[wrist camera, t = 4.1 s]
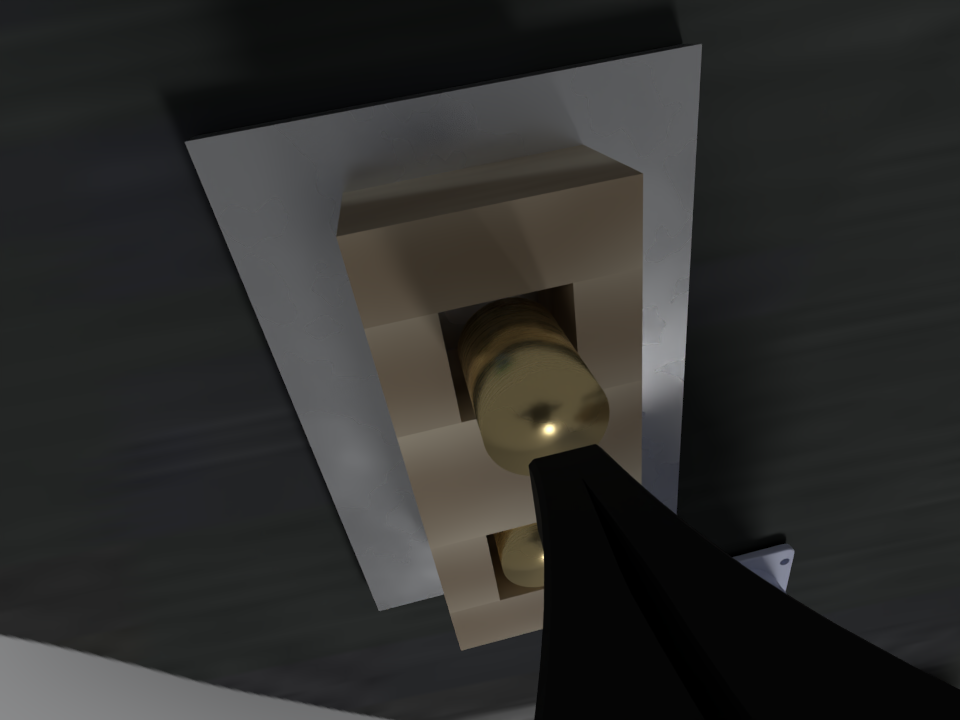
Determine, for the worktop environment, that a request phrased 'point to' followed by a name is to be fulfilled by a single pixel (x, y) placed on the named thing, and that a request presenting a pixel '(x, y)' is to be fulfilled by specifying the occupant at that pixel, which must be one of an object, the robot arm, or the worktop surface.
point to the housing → (482, 278)
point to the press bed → (343, 343)
